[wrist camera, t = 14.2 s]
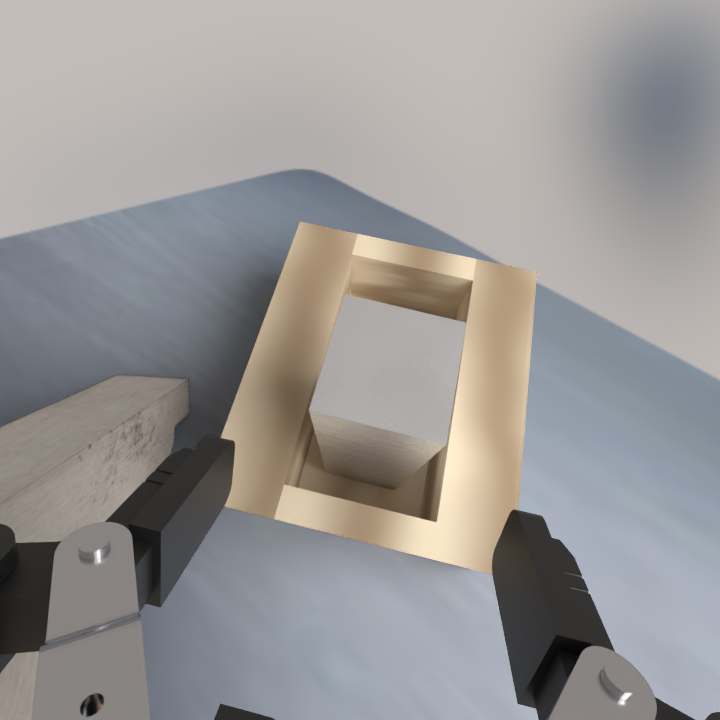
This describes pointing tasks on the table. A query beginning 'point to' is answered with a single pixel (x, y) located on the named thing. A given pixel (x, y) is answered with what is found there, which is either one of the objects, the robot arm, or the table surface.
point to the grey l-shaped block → (385, 391)
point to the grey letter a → (80, 475)
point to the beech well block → (469, 412)
